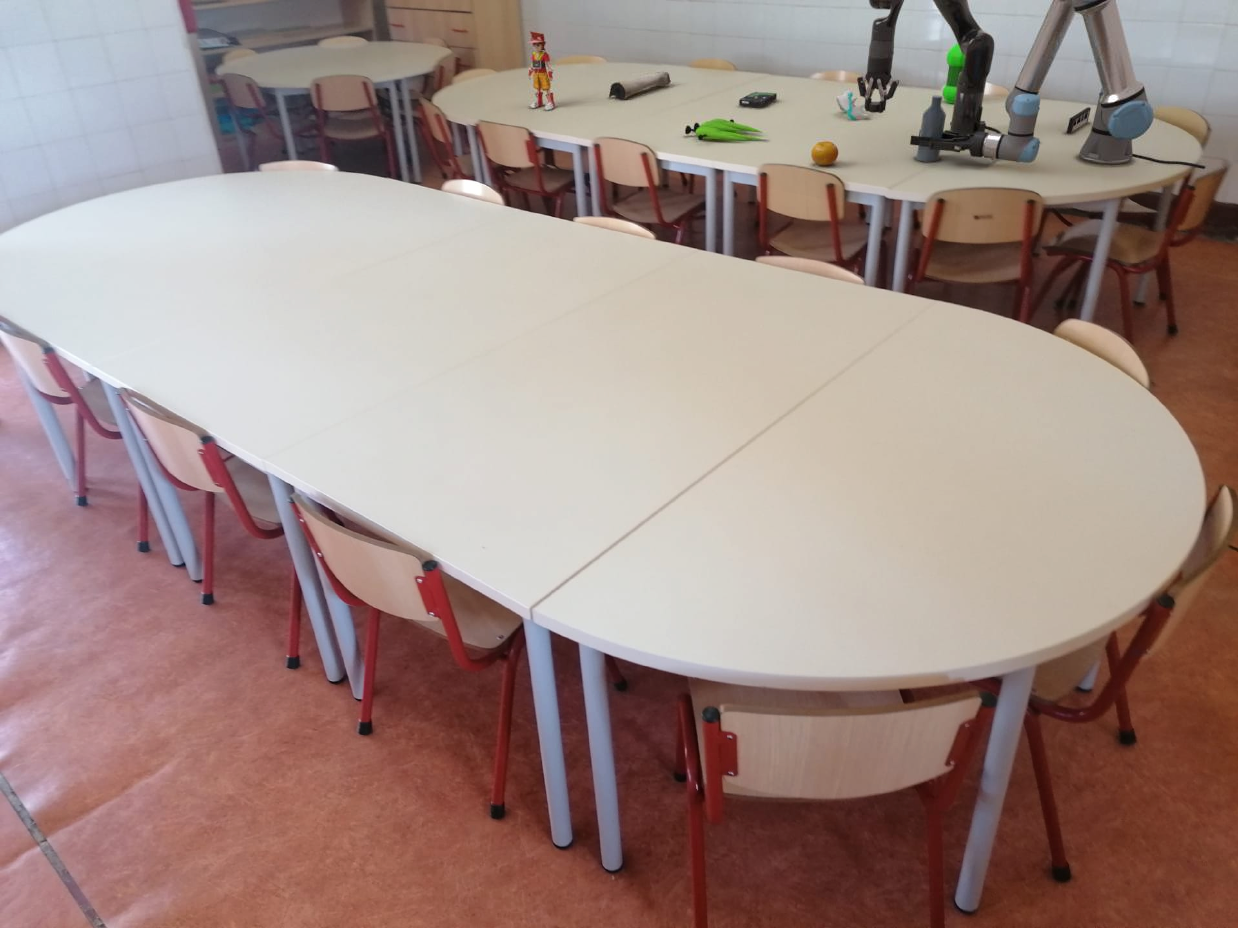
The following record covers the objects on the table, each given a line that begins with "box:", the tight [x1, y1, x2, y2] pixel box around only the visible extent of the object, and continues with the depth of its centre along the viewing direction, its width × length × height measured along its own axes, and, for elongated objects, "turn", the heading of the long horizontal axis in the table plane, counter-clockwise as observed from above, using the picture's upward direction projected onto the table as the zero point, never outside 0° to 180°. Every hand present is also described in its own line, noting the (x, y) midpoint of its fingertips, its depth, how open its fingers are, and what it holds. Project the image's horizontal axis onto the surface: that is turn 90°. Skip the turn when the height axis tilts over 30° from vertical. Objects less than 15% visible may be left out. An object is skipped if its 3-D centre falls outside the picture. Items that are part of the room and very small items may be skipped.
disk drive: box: [738, 91, 778, 109], centre depth 368 cm, size 10×3×15 cm
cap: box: [867, 101, 880, 114], centre depth 291 cm, size 4×4×2 cm
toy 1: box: [527, 31, 556, 111], centre depth 374 cm, size 12×9×30 cm
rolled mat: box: [608, 71, 672, 101], centre depth 395 cm, size 30×9×10 cm
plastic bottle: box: [942, 42, 965, 104], centre depth 348 cm, size 10×10×25 cm
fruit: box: [810, 140, 839, 166], centre depth 296 cm, size 8×8×8 cm
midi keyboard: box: [1066, 107, 1092, 134], centre depth 315 cm, size 18×1×5 cm, turn 138°
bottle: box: [915, 94, 947, 163], centre depth 291 cm, size 7×7×20 cm
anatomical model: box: [836, 89, 870, 121], centre depth 344 cm, size 15×10×10 cm
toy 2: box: [684, 118, 766, 141], centre depth 330 cm, size 28×5×30 cm
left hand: (874, 111), depth 292 cm, fingers closed on cap, 4 cm apart
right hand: (915, 137), depth 295 cm, fingers closed on bottle, 7 cm apart
